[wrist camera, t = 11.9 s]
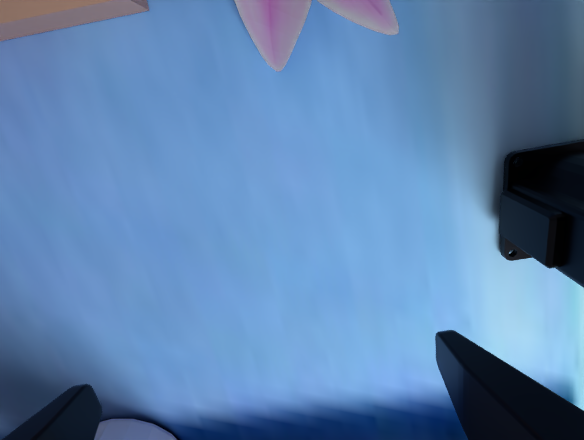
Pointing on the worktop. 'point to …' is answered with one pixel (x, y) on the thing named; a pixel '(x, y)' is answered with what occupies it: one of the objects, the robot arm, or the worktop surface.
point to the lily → (291, 17)
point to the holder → (59, 14)
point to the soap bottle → (130, 430)
